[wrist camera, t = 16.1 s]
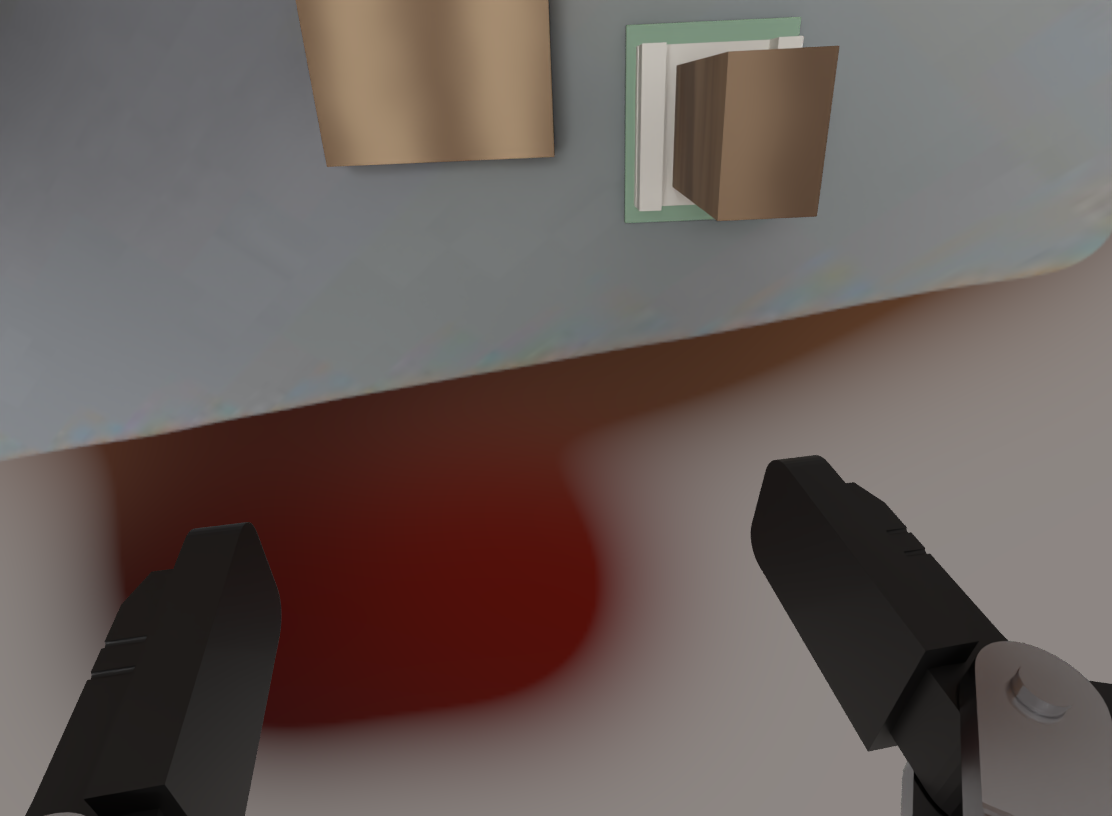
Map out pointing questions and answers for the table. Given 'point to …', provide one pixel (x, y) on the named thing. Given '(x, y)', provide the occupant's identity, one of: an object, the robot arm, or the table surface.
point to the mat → (682, 35)
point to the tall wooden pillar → (754, 131)
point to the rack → (670, 112)
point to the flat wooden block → (429, 79)
